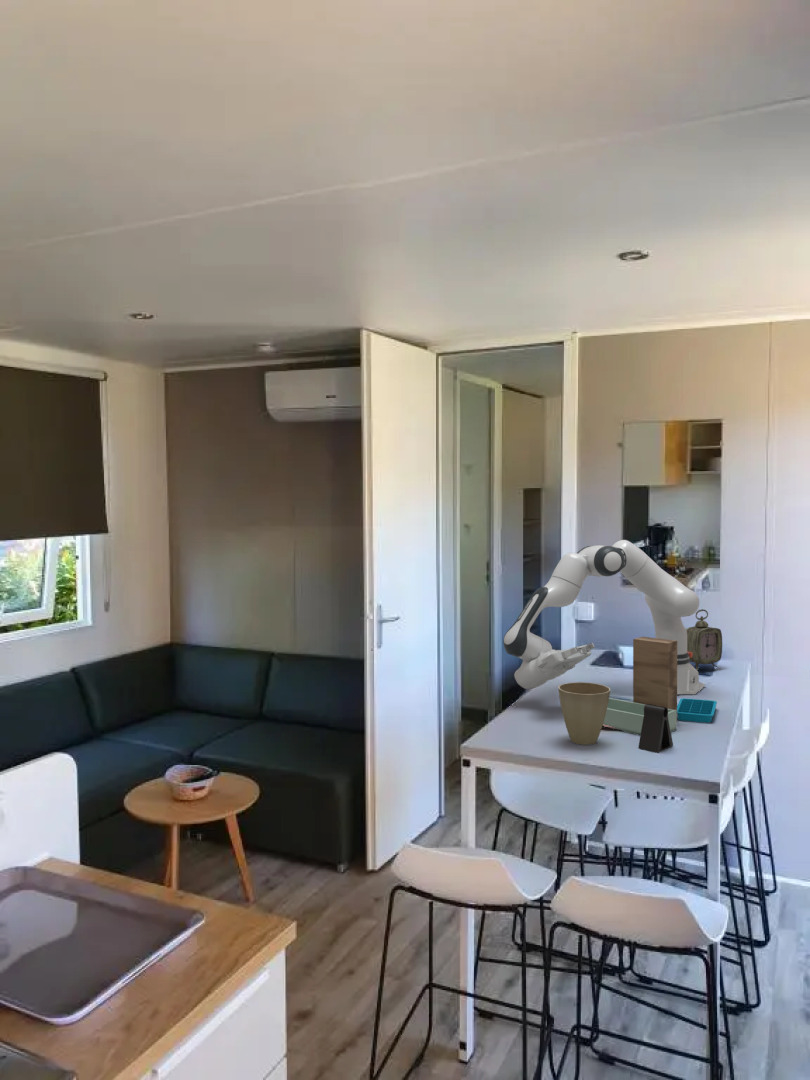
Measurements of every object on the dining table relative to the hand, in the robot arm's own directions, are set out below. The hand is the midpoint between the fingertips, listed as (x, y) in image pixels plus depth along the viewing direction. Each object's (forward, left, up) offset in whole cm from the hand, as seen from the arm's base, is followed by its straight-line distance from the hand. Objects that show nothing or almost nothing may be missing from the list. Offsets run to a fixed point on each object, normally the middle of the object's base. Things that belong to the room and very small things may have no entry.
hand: (584, 647), depth 270 cm
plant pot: (+23, +15, -23) cm, 36 cm away
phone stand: (+14, +33, -23) cm, 42 cm away
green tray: (0, +15, -23) cm, 27 cm away
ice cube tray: (-27, +25, -23) cm, 44 cm away
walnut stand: (-11, +19, -23) cm, 32 cm away
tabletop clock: (-92, -5, -23) cm, 95 cm away
